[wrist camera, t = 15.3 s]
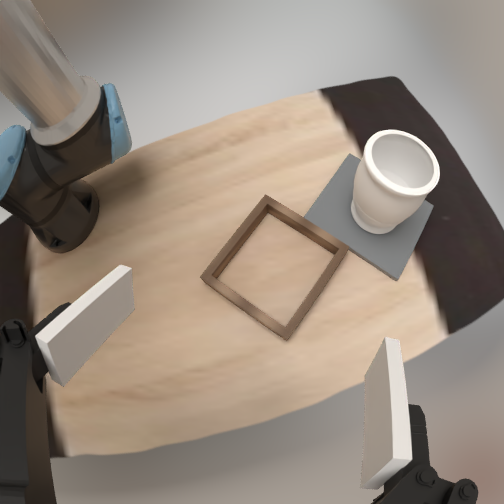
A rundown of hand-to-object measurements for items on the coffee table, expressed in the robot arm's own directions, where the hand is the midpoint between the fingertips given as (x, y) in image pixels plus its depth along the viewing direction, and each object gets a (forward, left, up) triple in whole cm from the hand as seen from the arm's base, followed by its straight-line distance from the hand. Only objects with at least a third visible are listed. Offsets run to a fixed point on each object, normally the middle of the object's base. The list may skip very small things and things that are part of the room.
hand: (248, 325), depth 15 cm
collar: (-6, +11, -32) cm, 34 cm away
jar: (+2, +28, -31) cm, 42 cm away
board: (+2, +28, -32) cm, 42 cm away
